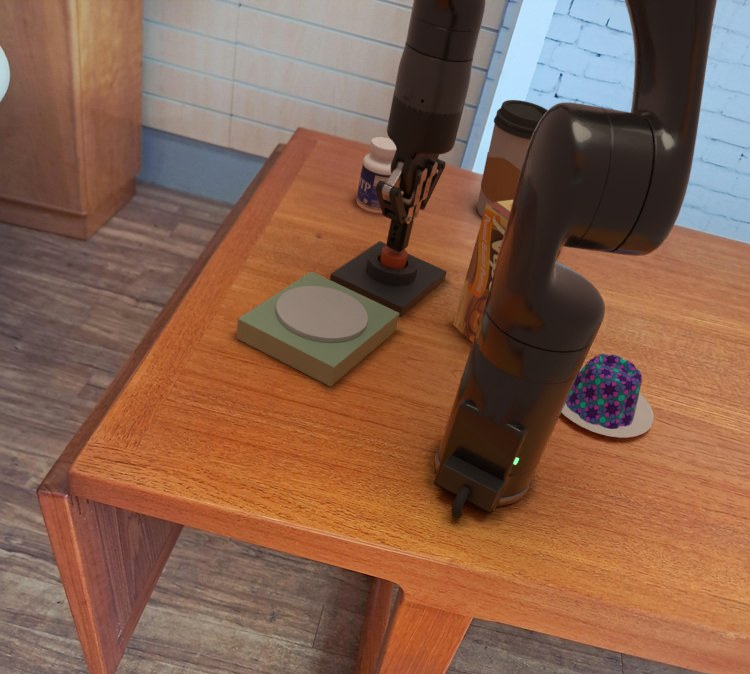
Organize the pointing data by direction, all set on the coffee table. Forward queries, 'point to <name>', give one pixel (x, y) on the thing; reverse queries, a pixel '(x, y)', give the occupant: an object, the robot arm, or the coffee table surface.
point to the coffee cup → (507, 150)
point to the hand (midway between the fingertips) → (396, 247)
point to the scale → (317, 327)
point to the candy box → (482, 267)
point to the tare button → (393, 258)
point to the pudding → (609, 398)
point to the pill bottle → (375, 173)
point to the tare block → (389, 279)
